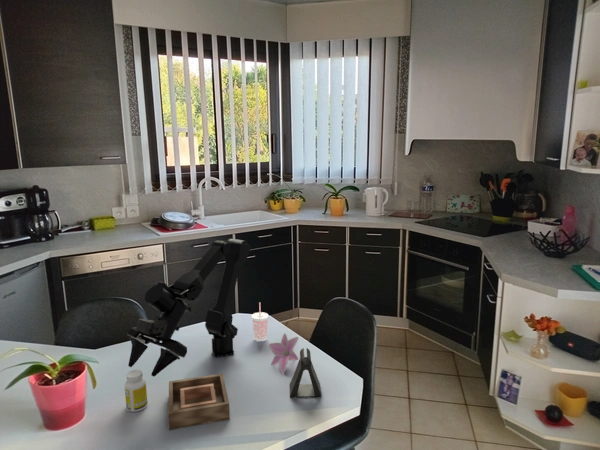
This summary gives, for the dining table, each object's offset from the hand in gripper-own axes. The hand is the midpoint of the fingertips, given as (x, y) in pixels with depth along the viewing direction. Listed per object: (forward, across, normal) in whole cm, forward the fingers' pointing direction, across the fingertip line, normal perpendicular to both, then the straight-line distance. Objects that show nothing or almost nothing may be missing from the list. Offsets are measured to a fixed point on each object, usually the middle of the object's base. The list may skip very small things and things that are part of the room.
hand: (140, 371), depth 116 cm
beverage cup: (-27, +5, +40) cm, 49 cm away
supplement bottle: (+8, 0, +5) cm, 10 cm away
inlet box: (+2, +14, +11) cm, 18 cm away
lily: (-19, +23, +33) cm, 44 cm away
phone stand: (-13, +36, +26) cm, 46 cm away
